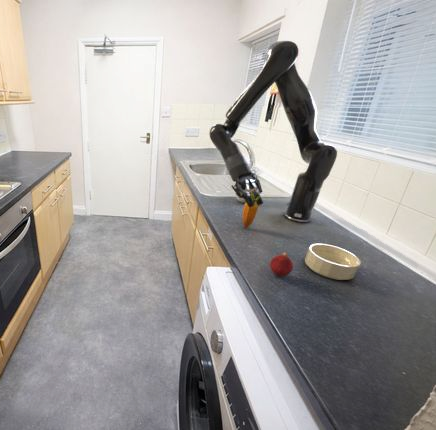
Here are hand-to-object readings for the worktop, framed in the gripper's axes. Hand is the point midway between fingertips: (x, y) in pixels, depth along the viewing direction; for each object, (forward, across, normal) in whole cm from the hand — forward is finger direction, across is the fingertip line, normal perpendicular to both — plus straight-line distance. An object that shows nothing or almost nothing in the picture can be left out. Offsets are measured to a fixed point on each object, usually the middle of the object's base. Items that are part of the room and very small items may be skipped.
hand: (256, 205), depth 102 cm
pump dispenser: (-8, +25, +24) cm, 36 cm away
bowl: (+28, 0, -12) cm, 31 cm away
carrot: (+7, 0, +9) cm, 11 cm away
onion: (+25, -18, -9) cm, 32 cm away
